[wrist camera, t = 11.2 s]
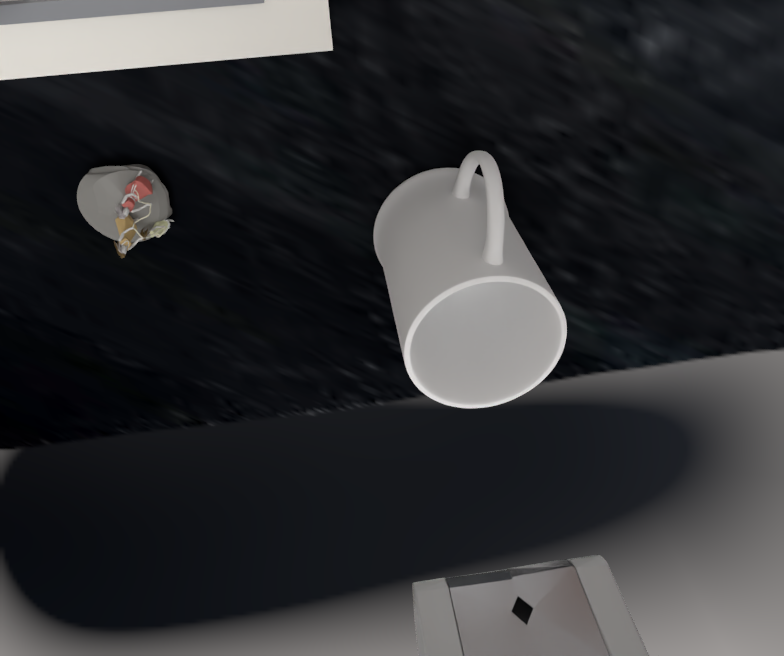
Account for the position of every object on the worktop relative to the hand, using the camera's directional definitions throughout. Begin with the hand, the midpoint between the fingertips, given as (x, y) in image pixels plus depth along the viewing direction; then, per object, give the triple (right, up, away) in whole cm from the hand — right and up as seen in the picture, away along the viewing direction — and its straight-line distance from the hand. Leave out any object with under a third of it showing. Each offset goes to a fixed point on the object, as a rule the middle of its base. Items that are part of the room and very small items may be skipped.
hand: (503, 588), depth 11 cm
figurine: (-16, +12, +28) cm, 34 cm away
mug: (+2, +12, +31) cm, 33 cm away
